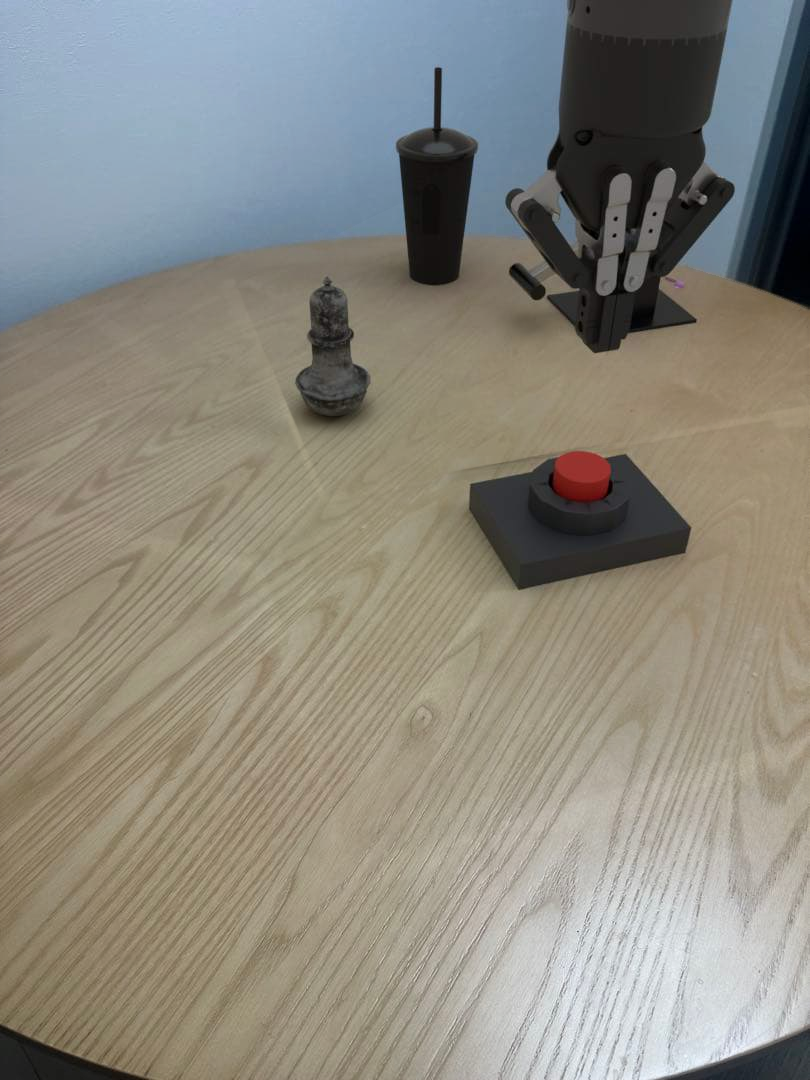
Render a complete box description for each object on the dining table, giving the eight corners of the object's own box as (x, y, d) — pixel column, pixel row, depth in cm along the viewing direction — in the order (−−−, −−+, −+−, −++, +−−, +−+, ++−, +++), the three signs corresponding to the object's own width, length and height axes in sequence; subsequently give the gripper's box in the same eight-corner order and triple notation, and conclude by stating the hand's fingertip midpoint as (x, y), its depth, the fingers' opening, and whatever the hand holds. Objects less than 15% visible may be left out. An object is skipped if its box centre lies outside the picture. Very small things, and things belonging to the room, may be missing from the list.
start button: (592, 468, 64) (595, 446, 63) (617, 498, 61) (620, 476, 60) (543, 477, 63) (546, 455, 62) (566, 508, 60) (569, 486, 59)
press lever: (535, 308, 83) (526, 286, 81) (513, 285, 87) (504, 264, 85) (665, 226, 82) (659, 203, 80) (637, 207, 86) (630, 184, 84)
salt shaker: (286, 430, 74) (272, 286, 67) (316, 394, 79) (307, 255, 71) (355, 444, 73) (348, 299, 65) (382, 407, 77) (379, 266, 70)
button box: (621, 478, 69) (629, 432, 67) (685, 553, 63) (697, 505, 60) (468, 508, 66) (470, 461, 64) (518, 590, 60) (523, 541, 57)
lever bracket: (586, 348, 85) (604, 218, 77) (545, 306, 91) (557, 183, 84) (694, 331, 87) (721, 203, 80) (646, 291, 94) (667, 170, 87)
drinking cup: (487, 287, 95) (499, 70, 82) (425, 305, 92) (428, 83, 79) (442, 261, 100) (447, 54, 87) (382, 279, 97) (378, 65, 84)
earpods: (665, 300, 96) (652, 291, 95) (674, 286, 96) (661, 276, 95) (681, 301, 93) (668, 291, 92) (690, 286, 93) (677, 276, 92)
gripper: (552, 40, 40) (521, 394, 51) (815, 21, 43) (733, 358, 54) (488, 8, 46) (472, 333, 57) (725, -7, 49) (666, 304, 60)
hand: (600, 345), depth 56 cm, fingers closed
